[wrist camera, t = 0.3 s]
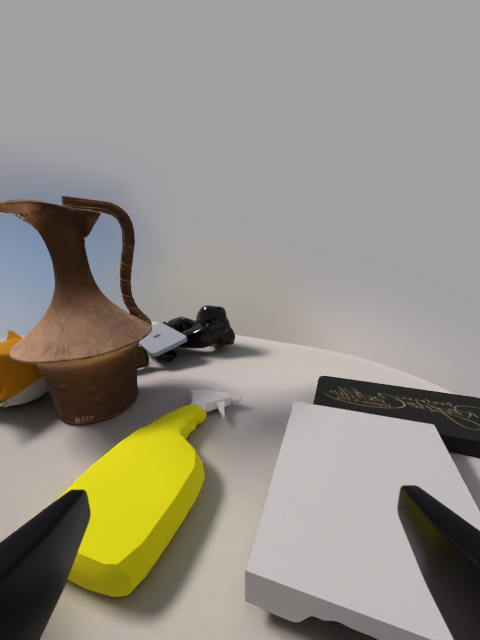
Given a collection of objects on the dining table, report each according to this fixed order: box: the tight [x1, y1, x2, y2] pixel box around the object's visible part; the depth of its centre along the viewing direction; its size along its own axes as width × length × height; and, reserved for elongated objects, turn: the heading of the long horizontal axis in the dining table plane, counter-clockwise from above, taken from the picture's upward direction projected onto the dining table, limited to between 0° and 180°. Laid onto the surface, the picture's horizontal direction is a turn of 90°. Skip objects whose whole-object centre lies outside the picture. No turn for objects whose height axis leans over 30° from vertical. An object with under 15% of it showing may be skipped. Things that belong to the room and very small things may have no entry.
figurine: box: [136, 346, 149, 369], centre depth 57 cm, size 7×4×15 cm
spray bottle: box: [58, 390, 241, 597], centre depth 30 cm, size 3×11×24 cm
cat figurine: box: [160, 306, 235, 362], centre depth 60 cm, size 10×14×18 cm
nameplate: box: [314, 376, 480, 457], centre depth 36 cm, size 21×2×10 cm
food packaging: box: [245, 401, 480, 640], centre depth 24 cm, size 15×3×20 cm
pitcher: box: [0, 196, 152, 424], centre depth 38 cm, size 18×17×28 cm
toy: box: [0, 331, 49, 407], centre depth 42 cm, size 19×15×10 cm
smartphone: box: [139, 323, 187, 357], centre depth 58 cm, size 7×1×15 cm
